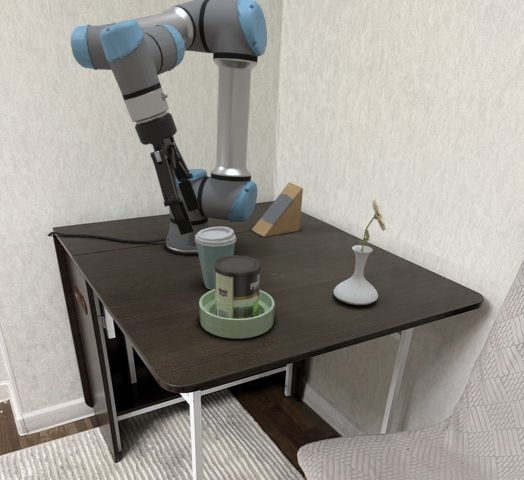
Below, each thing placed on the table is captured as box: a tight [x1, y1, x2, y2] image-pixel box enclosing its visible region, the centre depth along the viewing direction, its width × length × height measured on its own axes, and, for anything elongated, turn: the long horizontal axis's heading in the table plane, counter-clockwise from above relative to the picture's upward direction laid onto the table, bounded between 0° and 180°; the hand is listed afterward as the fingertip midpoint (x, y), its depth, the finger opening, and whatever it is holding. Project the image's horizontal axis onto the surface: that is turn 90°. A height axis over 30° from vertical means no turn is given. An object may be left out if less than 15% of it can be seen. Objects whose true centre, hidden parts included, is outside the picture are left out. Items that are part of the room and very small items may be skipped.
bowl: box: [198, 289, 276, 339], centre depth 111 cm, size 17×17×5 cm
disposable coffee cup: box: [195, 226, 237, 291], centre depth 125 cm, size 11×11×15 cm
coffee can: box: [214, 254, 262, 319], centre depth 109 cm, size 10×10×14 cm
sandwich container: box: [251, 181, 304, 238], centre depth 166 cm, size 9×15×15 cm, turn 122°
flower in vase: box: [333, 199, 387, 306], centre depth 118 cm, size 13×11×25 cm
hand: (191, 220), depth 104 cm, fingers open, 13 cm apart
